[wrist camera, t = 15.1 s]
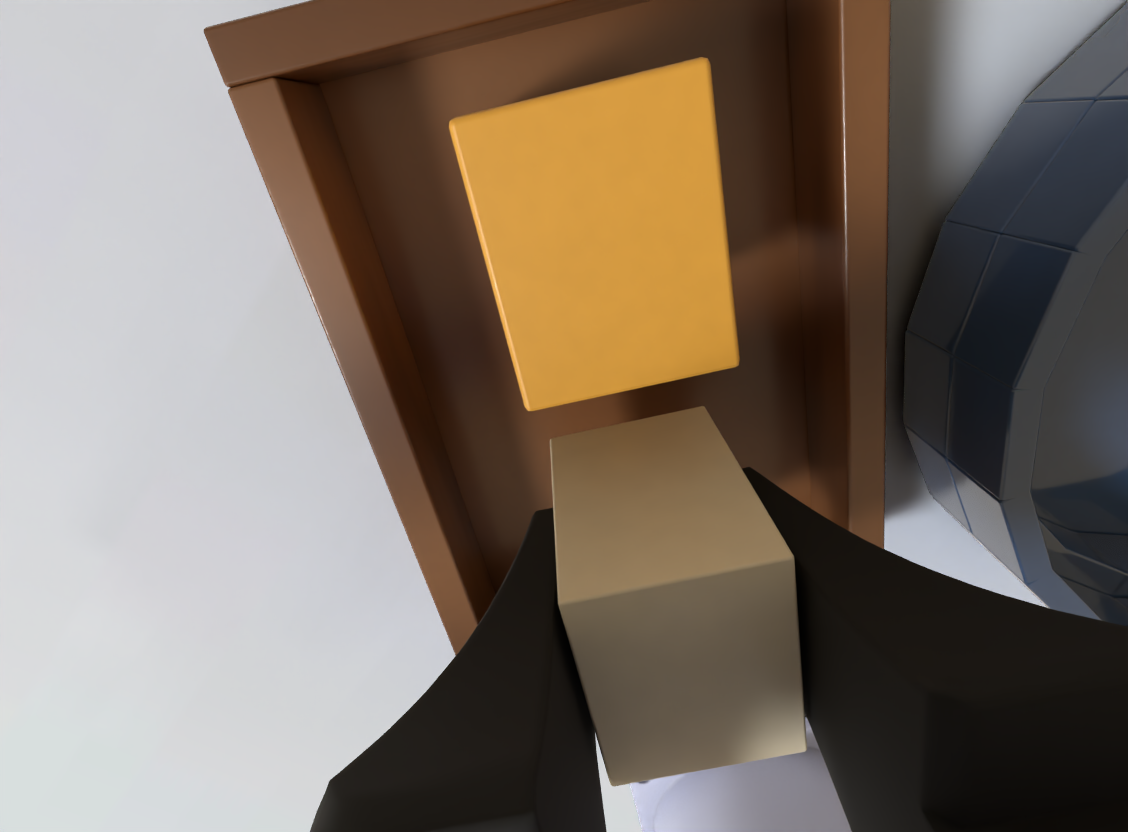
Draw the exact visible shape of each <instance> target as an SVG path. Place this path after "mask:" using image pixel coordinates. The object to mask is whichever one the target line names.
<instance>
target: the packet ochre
mask: <svg viewBox="0 0 1128 832" xmlns="http://www.w3.org/2000/svg"><path fill="white" fill-rule="evenodd" d="M449 130H450V134H451V138H452V142H453V145H454V149H455V153H456V156H457V160H458V164H459V167H460V171H461V175H462V178H463V182H464V186H465V189H466V193H467V197H468V200H469V204H470V208H471V211H472V215H473V219H474V222H475V226H476V230H477V234H478V237H479V241H480V245H481V248H482V252H483V256H484V259H485V263H486V267H487V270H488V274H489V278H490V281H491V285H492V289H493V292H494V296H495V300H496V303H497V307H498V311H499V314H500V318H501V322H502V326H503V329H504V333H505V337H506V340H507V344H508V348H509V351H510V355H511V359H512V362H513V366H514V370H515V373H516V377H517V381H518V384H519V388H520V392H521V395H522V399H523V403H524V406H525V408H526V409H527V410H528V411H535V410H540V409H545V408H549V407H554V406H559V405H563V404H568V403H572V402H577V401H582V400H586V399H591V398H595V397H600V396H605V395H609V394H614V393H618V392H623V391H628V390H632V389H637V388H642V387H646V386H651V385H655V384H660V383H665V382H669V381H674V380H678V379H683V378H688V377H692V376H697V375H701V374H706V373H711V372H715V371H720V370H725V369H729V368H734V367H736V366H738V365H739V361H740V356H739V346H738V336H737V326H736V316H735V306H734V296H733V286H732V276H731V266H730V255H729V245H728V235H727V225H726V215H725V205H724V195H723V185H722V175H721V165H720V154H719V144H718V134H717V124H716V114H715V104H714V94H713V84H712V74H711V64H710V62H709V60H708V58H704V57H699V58H695V59H691V60H687V61H683V62H679V63H675V64H671V65H667V66H663V67H659V68H655V69H650V70H646V71H642V72H638V73H634V74H630V75H626V76H622V77H618V78H614V79H610V80H605V81H601V82H597V83H593V84H589V85H585V86H581V87H577V88H573V89H569V90H565V91H560V92H556V93H552V94H548V95H544V96H540V97H536V98H532V99H528V100H524V101H520V102H516V103H511V104H507V105H503V106H499V107H495V108H491V109H487V110H483V111H479V112H475V113H471V114H466V115H462V116H458V117H454V118H453V119H452V120H451V121H449Z"/></svg>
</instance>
